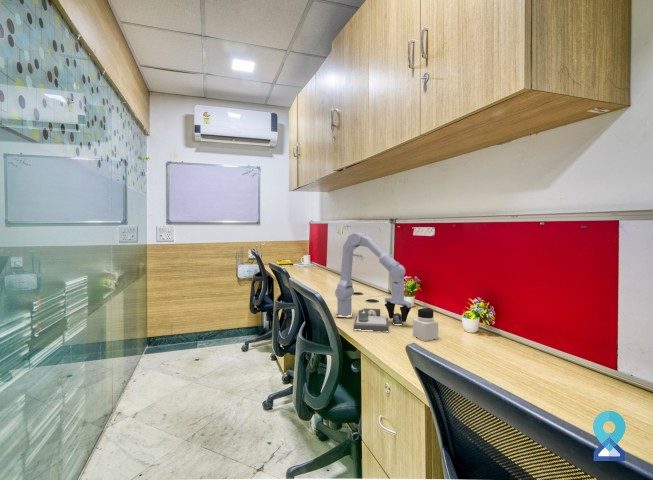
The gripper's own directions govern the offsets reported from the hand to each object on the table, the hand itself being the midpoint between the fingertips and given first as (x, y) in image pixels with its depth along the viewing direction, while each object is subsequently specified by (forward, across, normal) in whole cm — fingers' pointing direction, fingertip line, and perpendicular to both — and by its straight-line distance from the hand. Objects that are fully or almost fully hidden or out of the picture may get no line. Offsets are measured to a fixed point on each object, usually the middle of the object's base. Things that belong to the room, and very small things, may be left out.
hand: (397, 320), depth 147 cm
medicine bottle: (+2, +20, -6) cm, 21 cm away
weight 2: (+2, 0, 0) cm, 2 cm away
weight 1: (-1, -5, -17) cm, 18 cm away
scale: (+2, -4, -13) cm, 14 cm away
